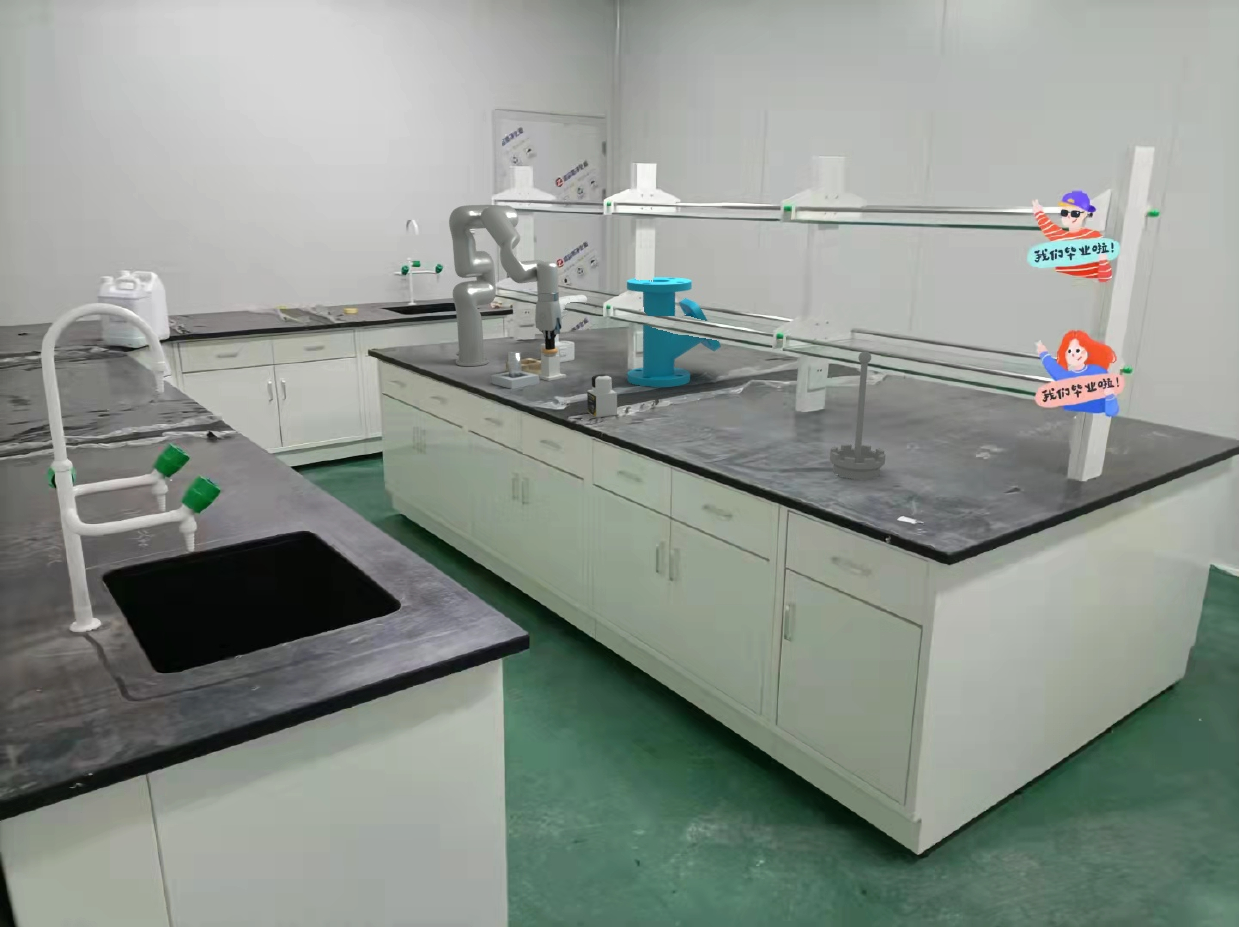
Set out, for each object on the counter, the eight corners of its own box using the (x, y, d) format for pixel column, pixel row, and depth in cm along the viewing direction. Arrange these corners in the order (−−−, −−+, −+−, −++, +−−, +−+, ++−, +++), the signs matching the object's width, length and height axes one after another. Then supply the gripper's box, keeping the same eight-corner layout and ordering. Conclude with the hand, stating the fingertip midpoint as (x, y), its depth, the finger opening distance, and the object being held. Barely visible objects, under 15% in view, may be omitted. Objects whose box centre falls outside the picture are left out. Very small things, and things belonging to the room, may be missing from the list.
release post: (535, 377, 325) (534, 355, 323) (552, 374, 330) (551, 352, 328) (548, 380, 319) (548, 358, 317) (566, 377, 325) (565, 355, 322)
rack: (506, 372, 334) (505, 362, 332) (529, 368, 341) (529, 358, 340) (523, 377, 326) (523, 366, 325) (547, 372, 333) (547, 362, 332)
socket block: (491, 383, 316) (491, 375, 315) (519, 378, 324) (518, 370, 323) (511, 388, 308) (511, 380, 307) (539, 383, 316) (539, 375, 315)
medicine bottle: (587, 412, 277) (586, 374, 273) (608, 410, 279) (608, 372, 276) (595, 417, 270) (595, 379, 267) (617, 415, 273) (617, 376, 269)
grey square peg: (506, 383, 316) (505, 352, 313) (516, 381, 319) (515, 351, 316) (514, 385, 313) (512, 354, 310) (524, 383, 316) (523, 352, 312)
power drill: (593, 357, 360) (592, 294, 353) (545, 365, 345) (543, 300, 337) (580, 354, 366) (579, 293, 359) (532, 362, 351) (530, 298, 343)
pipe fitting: (621, 375, 328) (620, 278, 317) (704, 370, 334) (706, 275, 323) (635, 388, 307) (635, 285, 296) (723, 383, 313) (726, 282, 302)
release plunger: (539, 371, 324) (538, 349, 322) (551, 369, 328) (551, 347, 325) (549, 373, 320) (548, 351, 318) (561, 371, 324) (560, 349, 321)
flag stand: (886, 482, 212) (897, 357, 203) (830, 479, 214) (838, 356, 205) (880, 465, 224) (891, 347, 215) (827, 463, 226) (835, 345, 217)
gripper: (526, 297, 319) (529, 348, 324) (553, 300, 308) (555, 353, 314) (543, 295, 324) (545, 345, 329) (569, 298, 313) (571, 350, 319)
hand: (550, 349), depth 322 cm, fingers closed
